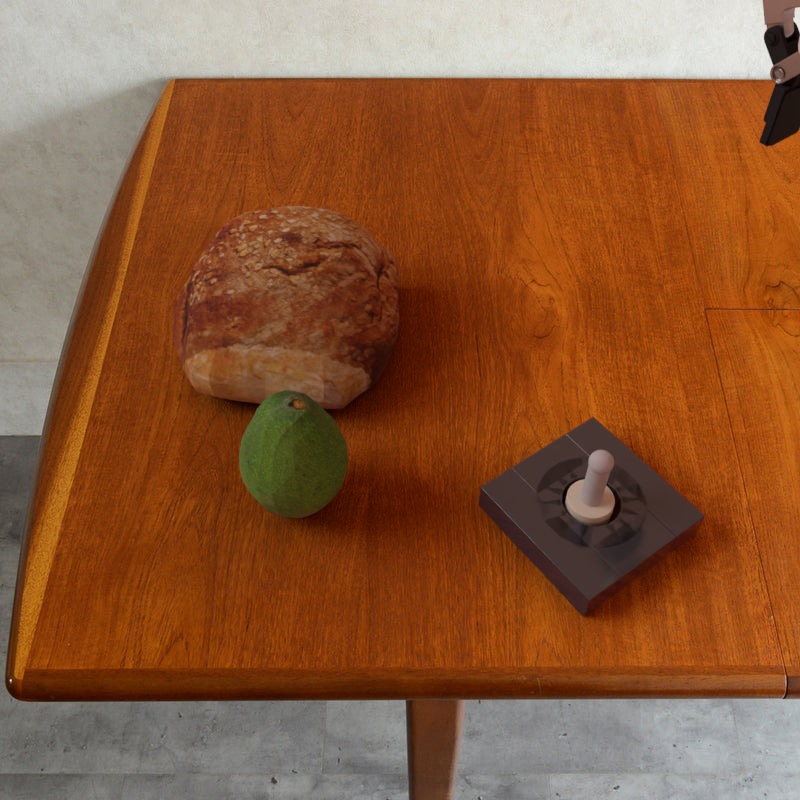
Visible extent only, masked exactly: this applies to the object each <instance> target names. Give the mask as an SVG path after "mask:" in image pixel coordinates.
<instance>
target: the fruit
mask: <svg viewBox="0 0 800 800" xmlns="http://www.w3.org/2000/svg"><path fill="white" fill-rule="evenodd" d="M238 463H239V465H238V466H239V472H240V476H241V479H242V482H243V484H244V485H245V487H246V489H247V491H248V492H249V493H250V495H251V496H252V497H253V499H254V500H255V501H256V502H257V503H258V504H259V505H261V506H262V507H263V508H264V509H265V510H266V511H267V512H270V513H272V514H275V515H278V516H280V517H283V518H285V519H301V518H306V517H309V516H311V515H313V514H315V513H318V512H320V511H321V510H322V509H323V508H325V507H326V506H327V505H328V504H330V503H331V501H333V500H334V498H335V497H336V496H337V494H338V493H339V491H340V490H341V488H342V487H343V484H344V481H345V478H346V475H347V473H348V472H347V471H348V467H349V454H348V444H347V442H346V440H345V437H344V435H343V433H342V431H341V430H340V428H339V426H338V424H337V423H336V421H335V419H334V418H333V416H332V415H331V414H330V413H329V412H327V411H326V409H323V408H322V407H321V406H320V405H319V404H318V403H317V402H315V401H314V400H313V399H312V398H310V397H309V396H307V395H306V394H305V393H301V392H297V391H292V390H284V391H281V392H278V393H275V394H273V395H271V396H269V397H268V398H266V399H265V400H264V401H263V402H262V404H259V406H258V407H257V408H256V410H255V412H254V415H253V416H252V418H251V420H250V422H249V424H248V425H247V427H246V428H245V430H244V432H243V435H242V437H241V440H240V446H239V453H238Z"/></svg>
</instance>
